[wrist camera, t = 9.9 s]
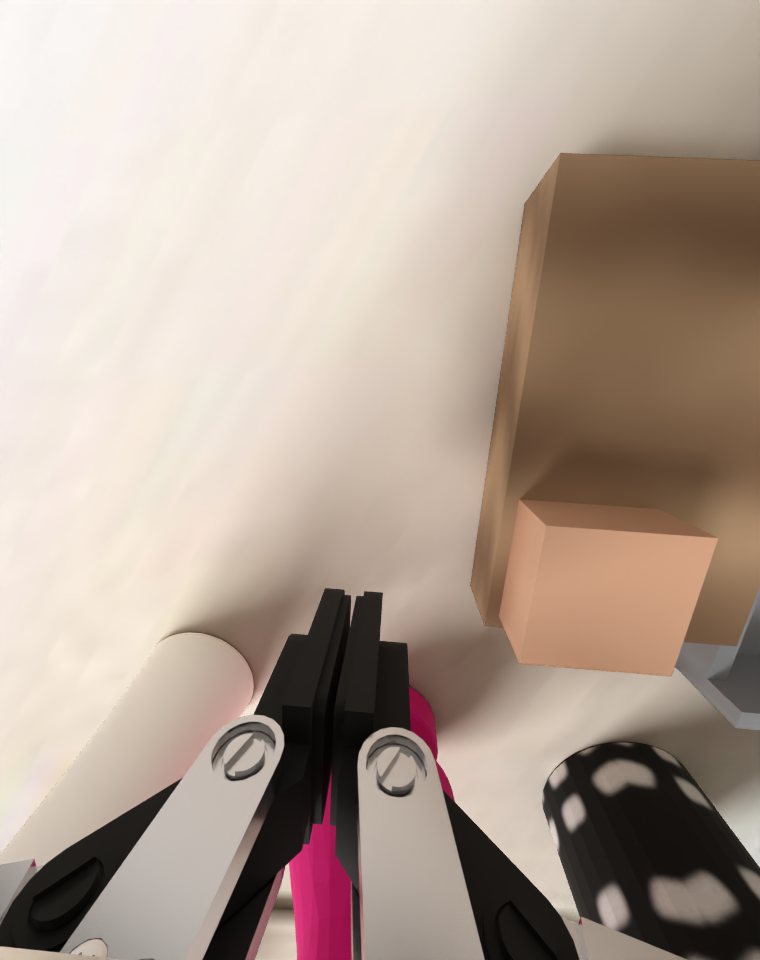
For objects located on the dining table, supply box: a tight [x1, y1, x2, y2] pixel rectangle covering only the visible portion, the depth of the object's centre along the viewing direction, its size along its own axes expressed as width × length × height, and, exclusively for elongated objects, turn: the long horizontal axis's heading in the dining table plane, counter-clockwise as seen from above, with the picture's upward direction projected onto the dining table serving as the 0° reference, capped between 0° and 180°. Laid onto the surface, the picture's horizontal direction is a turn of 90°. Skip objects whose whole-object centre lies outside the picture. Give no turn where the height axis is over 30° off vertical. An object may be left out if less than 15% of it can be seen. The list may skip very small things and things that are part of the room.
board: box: [470, 153, 760, 646], centre depth 14 cm, size 16×10×3 cm, turn 177°
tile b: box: [499, 499, 718, 676], centre depth 12 cm, size 5×5×2 cm
